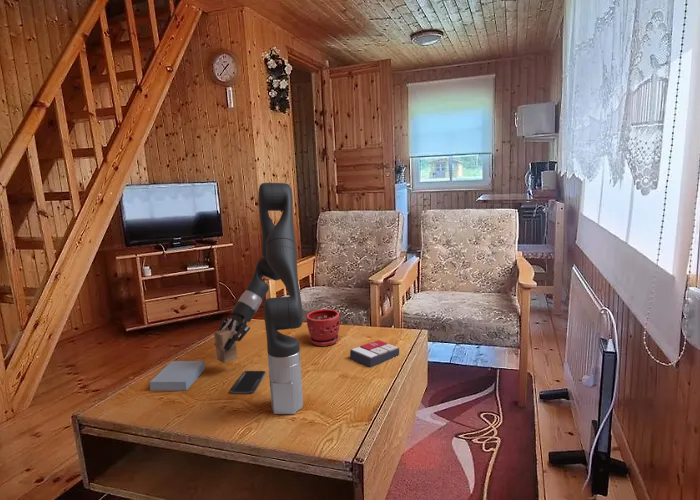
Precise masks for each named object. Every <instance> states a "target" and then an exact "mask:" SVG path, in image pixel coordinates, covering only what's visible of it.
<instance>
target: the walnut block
mask: <svg viewBox="0 0 700 500" xmlns="http://www.w3.org/2000/svg"><path fill="white" fill-rule="evenodd" d="M213 334H214V344H215V345H214V346H215V357H216V360H217V361H218V362H222V363H224V364H227V363H229V362H231V361H235V360H237V359H238V352H237V341H236V342H234V344H233V345H232V347H231V349H230V350H229V351H226V350H225V349H224V346H225V344H226V343H227V341H228V339H230V336H231V334H232V332H231V330H230V329H228V328H227V329H225V330H224V329H223V328H222V330H220V331H218V330H217V331H214V332H213ZM234 336H235V334H234Z"/></svg>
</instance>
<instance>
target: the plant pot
mask: <svg viewBox="0 0 700 500" xmlns="http://www.w3.org/2000/svg"><path fill="white" fill-rule="evenodd" d="M325 316H326V317H325ZM319 317H321V318H322V319H319ZM340 317H341V316H340V312H339V311H338V310H335V309H330V308H328V309H327V308H325V309H324V308H323V309H322V308H321V309H316V310H313V311H311V312H309V313H307V314H306V325H307V329H308V332H309V335H310V336H311V337H310V342H311V343H312V344H314V345H315V346H320V347H325V346H327V347H328V346H332V345H334V344H336V343H337V342H338V341H339V339H340V336H339V330H340V324H341V320H340Z"/></svg>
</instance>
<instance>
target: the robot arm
mask: <svg viewBox="0 0 700 500" xmlns="http://www.w3.org/2000/svg"><path fill="white" fill-rule="evenodd" d="M292 190H293V189H292V187H291V185H290V184H289V183H286V182H262V183H260V185H259V187H258V192H257V194H258V195H257V196H258V197H257V198H258V199H257V200H258V213H259V214H258V215H259V222H260V229H261V255H262V257H261V258H260V259H258V261H257V263H256V266H255V270H254V273H253V276H252V278H251V281H250V282H249V285H248V286H247V288H246V289H245V290H244V292H243V293H242V294H241V295H240V297H239V299H238V301H237V302H236V303H235V305H234V306H233V309H232V310H231V313H232V315H231V316H230V317H229V318H227V317H223V319H222V320H221V323H220V324H219V327H218V329H217V331H220V330H223V329H224V330H225V329H230V330H231V332H232V334H231V336H230V339H228V341H227V343H226V344H225V346H224V349H225V350H226V351H229V350H230V349H231V347H232V345H233V344H234V342H236V343H237V342H241V341H242V339H243V338H244V337H245V336H246V335H247V333H248V332H249V331H250V329H251V327H250V326H249V325H248V324H247V323H250V322H251V320H252V319H253V317H254V316H255V315H256V313H257V312H258V309H259V308H260V306H261V304H262V302H263V300H264V298H265V297H266V296H267V293H268V292H269V290H270V286H269V284H268V283H267V282H266V281H264V280H263V277H265V278H268V279H270V280H273V281H281V282H282V284H283V285H284V287H285V288H286V291H287V293H288V296H278V297H268V298H267V299H265V300H264V302H263V318H264V319H263V320H264V325H265V333H266V334H265V335H266V346H267V347H266V348H267V360H268V365H267V366H268V377H269V389H270V391H269V392H270V400H271V401H270V403H271V410H272V411H273V415H295V414H296V412H298V411H300V410H301V409H302V408H303V406H304V398H303V397H304V396H303V383H302V379H303V378H302V366H301V363H302V362H301V350H300V349H301V348H300V341H299V340H298V339H297V338H296V337H293V336H291V335H287V334H284V333H282V332H280V331H281V330H292V329H293V330H294V329H299V328H300V327H301V326H302V325H303V323H304V322H303V320H304V314H303V302H302V297H301V290H300V284H299V283H300V282H299V277H298V260H297V259H298V257H297V247H296V246H297V245H296V244H297V243H296V238H295V237H296V236H295V230H294V229H295V228H294V212H293V211H294V210H293V209H294V208H293V207H294V206H293V203H294V202H293V191H292ZM269 211H270V212H272V211H273V212H276V211H279V212H280V211H281V213H282V214H281V216H280V218H279V220H278V222H277V223H276V225H275V224H274V221H273V220H272V219H271V217H270V214H269ZM234 334H235V336H234ZM214 346H215V343H214Z"/></svg>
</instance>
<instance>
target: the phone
mask: <svg viewBox="0 0 700 500" xmlns="http://www.w3.org/2000/svg"><path fill="white" fill-rule="evenodd" d="M266 374H267V372H266V371H265V370H245V371H243V372H242V373H241V375H240V376H239V378H238V379H237V380H236V382H235V383H234V384H233V385H232V386H231V388H230V389H229V393H231V395H252V394H254V393H255V391H257V389H258V387H259V386H260V384H261V382H262V380H263V379H265V378H264V377H265V376H266Z"/></svg>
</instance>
